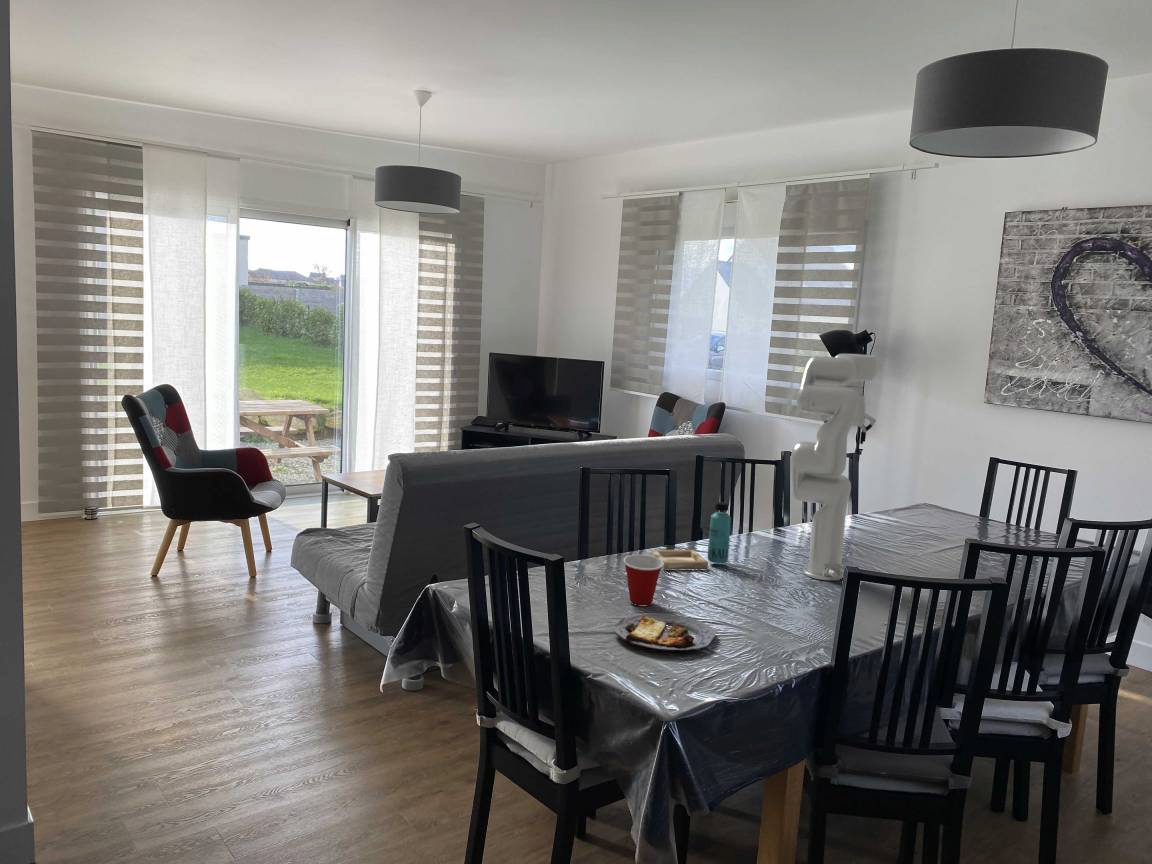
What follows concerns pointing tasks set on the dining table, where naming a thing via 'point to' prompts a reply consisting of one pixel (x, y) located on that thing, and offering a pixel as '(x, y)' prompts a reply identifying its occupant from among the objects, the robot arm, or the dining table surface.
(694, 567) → the tray
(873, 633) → the dining table surface
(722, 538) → the beverage bottle
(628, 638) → the food plate
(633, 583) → the plastic cup
